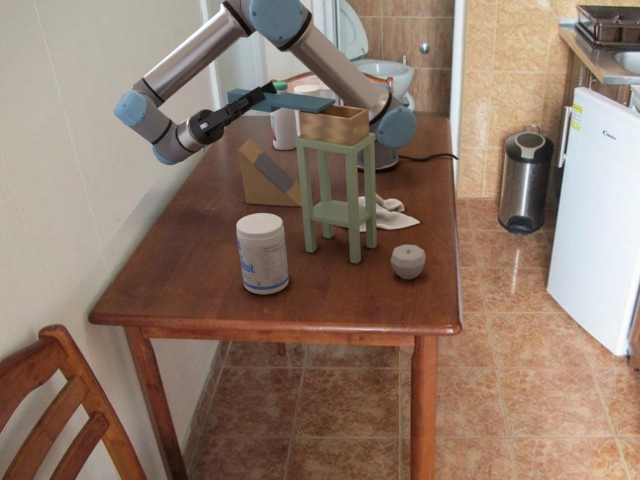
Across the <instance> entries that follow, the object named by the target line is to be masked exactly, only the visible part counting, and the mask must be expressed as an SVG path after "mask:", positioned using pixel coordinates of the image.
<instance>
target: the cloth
mask: <svg viewBox="0 0 640 480" xmlns="http://www.w3.org/2000/svg"><path fill="white" fill-rule="evenodd" d="M358 198H359V205H360V206H365V195H363V196H358ZM404 211H406V210H405V205H404V204H403V202H402V201H400V200H399V199H396V198H388V199H383V198H382V197H381V196H380V195H378V194H377V193H376V228H377V229H382V230H383V229H384V230H400V229H405V228H408V227H412V226H415V225H418V224H421V222H420V221H419V220H418V219H416V218H415V217H413V216H410V215H406V214H404V213H402V212H404ZM364 232H365V233H366V221H365V222H364V223H363V224H361V225H360V233H364Z"/></svg>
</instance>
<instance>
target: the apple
mask: <svg viewBox="0 0 640 480" xmlns="http://www.w3.org/2000/svg"><path fill="white" fill-rule="evenodd" d="M426 258H427V255H426V252H425V250H424V249H423V248H421V247H420V246H418V245H416V244H402V245H399V246H396V247H394V248H393V251H392V253H391V258H390V260H389V261H390V264H391V267H392V270H393V272H394V273H395V274H396V275H397V276H399V277H400V278H401V279H403V280H413V279H415V278H417V277H419V275H421V273H422V271H423V269H424V266H425V264H426V263H425V262H426Z"/></svg>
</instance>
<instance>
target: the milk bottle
mask: <svg viewBox="0 0 640 480" xmlns="http://www.w3.org/2000/svg"><path fill="white" fill-rule="evenodd" d="M272 83H273V85H274V87H275V89H276V90H277V92H278V93H277V94H279V95H280V94H282V93H285V92H287V93H288V90H289V89H288V87H289V86H288V82H286V81H275V82H272ZM269 113H270V112H269ZM269 115H270V124H271V127H270V128H271V134H272V144H273V147H274V148H275V149H276V150H278V151H289V150H294V149H297V147H296V145H295V140H294V138H296V137H297V128H296V118H295V110H294V109H287V108H281V109H278V110H276V111H274V112H272V113H270V114H269Z"/></svg>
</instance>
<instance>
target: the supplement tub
mask: <svg viewBox="0 0 640 480" xmlns="http://www.w3.org/2000/svg"><path fill="white" fill-rule="evenodd" d="M235 226H236V239H237V240H236V241H237V249H238V253H239V262H240V268H241V275H242V281H243V286H244V288H245V289H246V291H249V292H250V293H253V294H256V295H271V294H272V295H273V294H276V293H278V292H280V291H282V290H284V289H285V288H286V287H287V286H288V284H289V281H290V278H289V277H290V276H289V265H288V256H287V244H286V234H285V233H286V232H285V226H284V222H283V218H281V217H280V216H278V215H276V214H273V213H267V212H258V213H251V214H248V215H246V216H243V217H241V218H240V219H239V220H238V221H237V222H236V225H235Z"/></svg>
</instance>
